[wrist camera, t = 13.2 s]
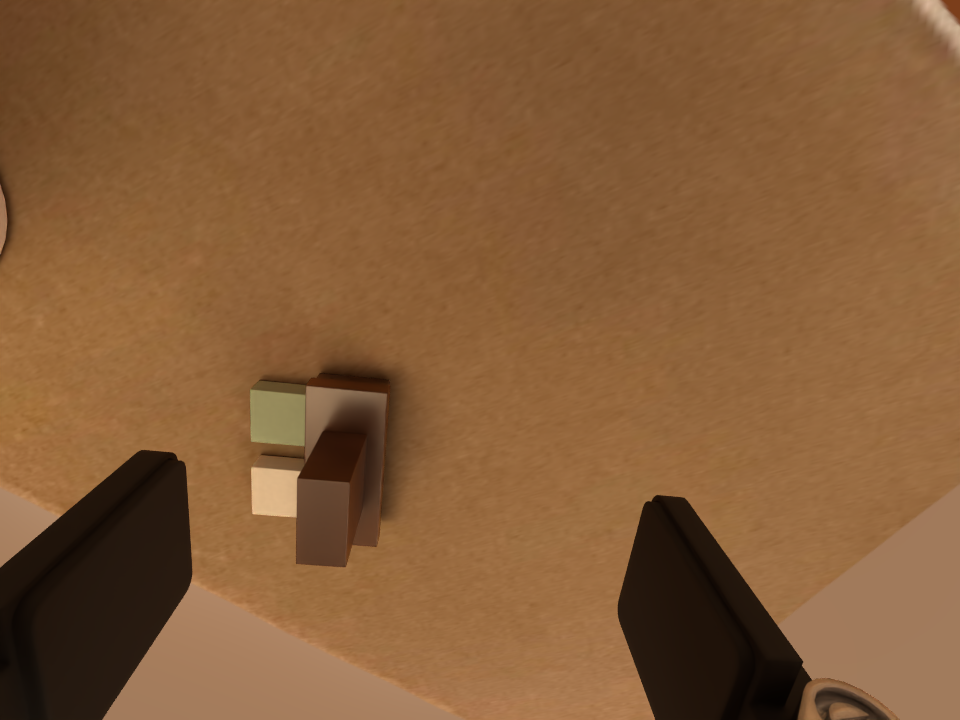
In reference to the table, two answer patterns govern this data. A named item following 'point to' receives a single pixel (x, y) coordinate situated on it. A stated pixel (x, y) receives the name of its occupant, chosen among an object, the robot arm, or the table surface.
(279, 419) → the chip
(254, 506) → the chip
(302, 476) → the brown inverted t block
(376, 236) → the table surface
